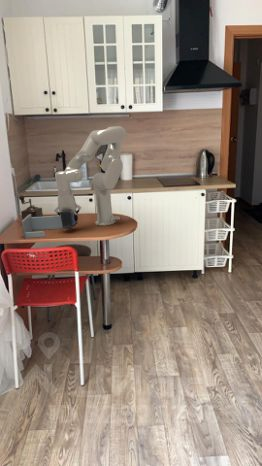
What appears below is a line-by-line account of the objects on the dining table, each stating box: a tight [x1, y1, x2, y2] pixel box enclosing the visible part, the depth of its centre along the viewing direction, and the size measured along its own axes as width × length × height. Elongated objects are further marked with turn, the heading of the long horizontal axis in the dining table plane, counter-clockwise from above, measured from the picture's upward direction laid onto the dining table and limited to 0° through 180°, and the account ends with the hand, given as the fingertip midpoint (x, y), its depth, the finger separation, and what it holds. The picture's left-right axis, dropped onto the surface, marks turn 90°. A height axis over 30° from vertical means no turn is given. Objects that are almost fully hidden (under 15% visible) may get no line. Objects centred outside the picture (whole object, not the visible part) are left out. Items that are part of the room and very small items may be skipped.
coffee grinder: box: [18, 195, 44, 221], centre depth 252 cm, size 16×11×18 cm
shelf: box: [20, 214, 63, 239], centre depth 227 cm, size 24×17×10 cm
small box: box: [60, 210, 79, 230], centre depth 226 cm, size 11×6×10 cm, turn 169°
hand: (70, 221), depth 226 cm, fingers closed on small box, 7 cm apart
